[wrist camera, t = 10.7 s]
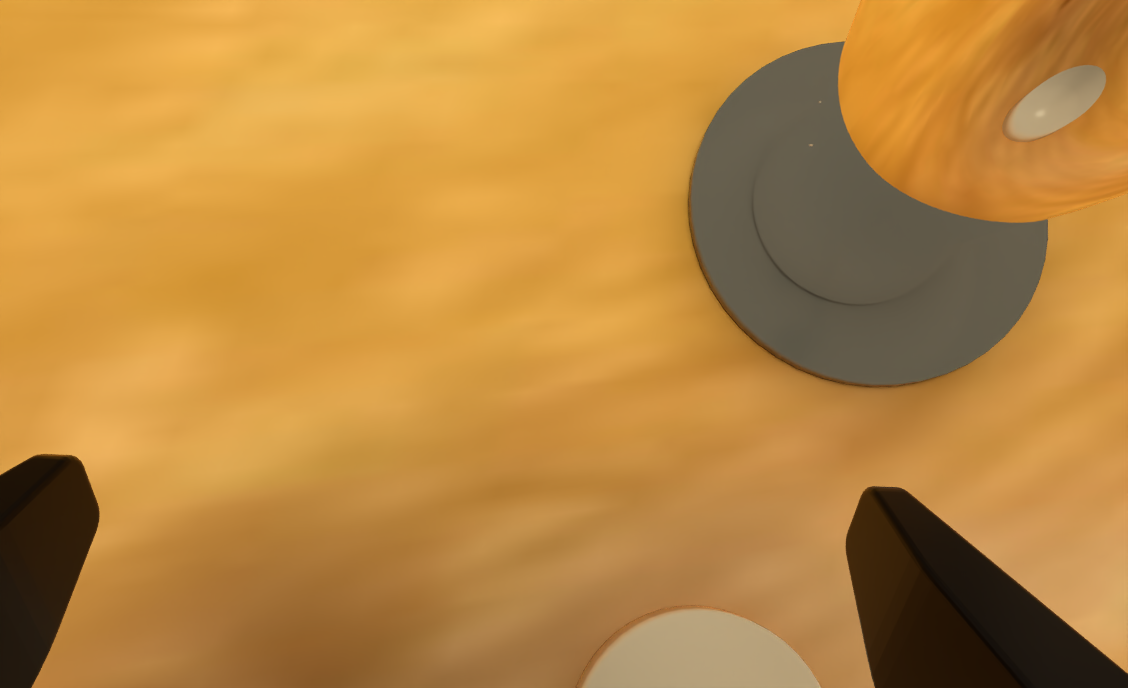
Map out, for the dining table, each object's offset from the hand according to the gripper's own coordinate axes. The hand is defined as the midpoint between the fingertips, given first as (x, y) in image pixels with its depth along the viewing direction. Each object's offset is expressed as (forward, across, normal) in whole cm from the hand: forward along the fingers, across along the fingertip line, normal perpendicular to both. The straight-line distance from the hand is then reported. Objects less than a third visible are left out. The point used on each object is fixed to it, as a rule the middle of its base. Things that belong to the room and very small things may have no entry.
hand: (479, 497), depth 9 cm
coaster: (+16, -11, +3) cm, 20 cm away
